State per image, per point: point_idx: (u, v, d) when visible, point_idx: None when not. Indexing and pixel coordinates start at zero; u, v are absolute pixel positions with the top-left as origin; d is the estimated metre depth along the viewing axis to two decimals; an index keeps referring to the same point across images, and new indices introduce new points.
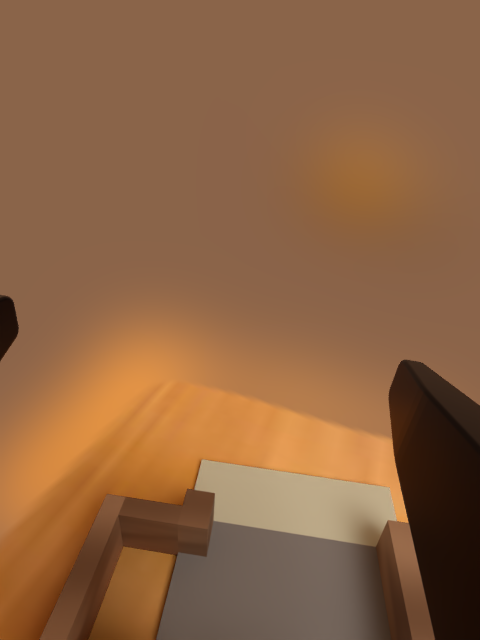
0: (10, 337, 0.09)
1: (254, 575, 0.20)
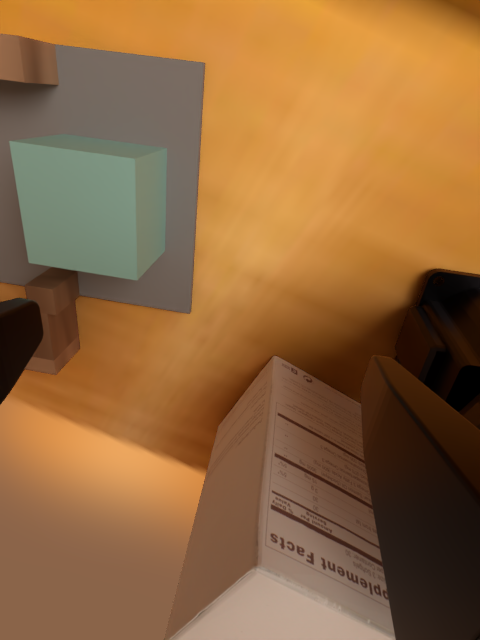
0: (36, 341, 0.09)
1: None
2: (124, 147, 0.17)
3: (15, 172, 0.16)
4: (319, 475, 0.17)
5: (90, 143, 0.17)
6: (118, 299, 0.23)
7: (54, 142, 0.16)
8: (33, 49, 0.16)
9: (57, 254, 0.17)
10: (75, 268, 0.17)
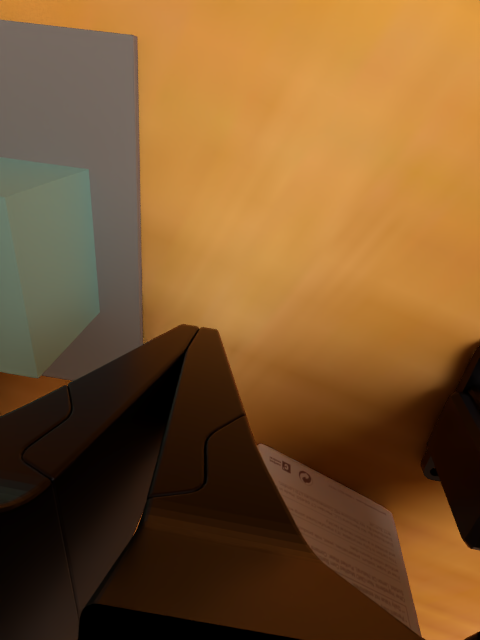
0: None
1: None
2: (13, 171, 0.11)
3: None
4: None
5: None
6: None
7: None
8: None
9: None
10: None
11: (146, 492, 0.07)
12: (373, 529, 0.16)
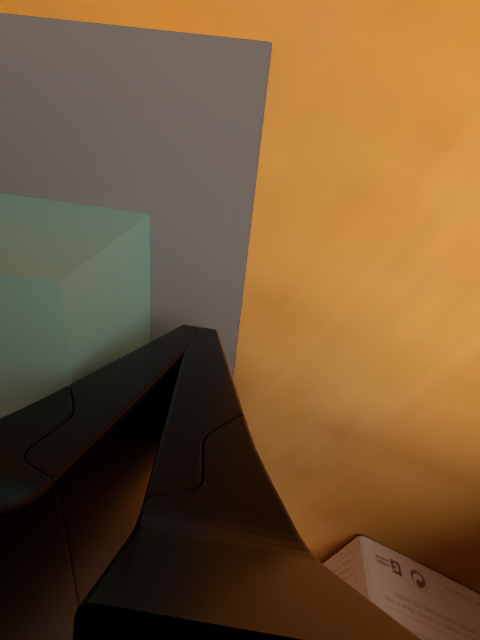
0: None
1: None
2: (56, 223, 0.08)
3: None
4: None
5: None
6: None
7: None
8: None
9: None
10: None
11: None
12: None
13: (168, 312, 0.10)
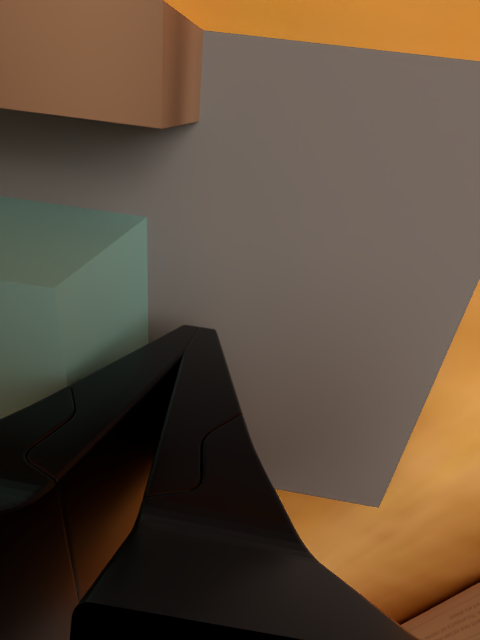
0: None
1: None
2: (52, 227, 0.08)
3: None
4: None
5: None
6: None
7: None
8: (179, 41, 0.06)
9: None
10: None
11: None
12: None
13: (369, 344, 0.10)
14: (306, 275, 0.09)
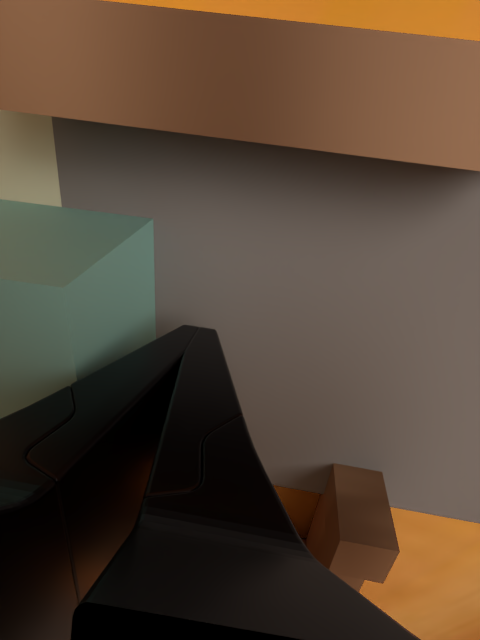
0: None
1: None
2: (61, 229, 0.08)
3: None
4: None
5: None
6: (443, 513, 0.13)
7: None
8: None
9: None
10: None
11: None
12: None
13: None
14: None
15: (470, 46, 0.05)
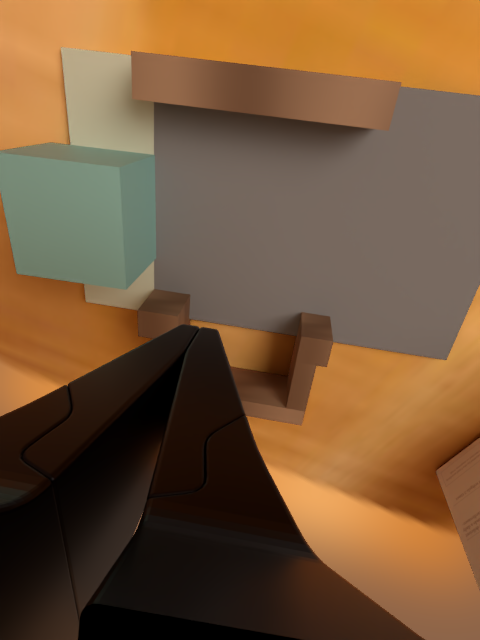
0: None
1: (202, 250, 0.20)
2: (110, 155, 0.17)
3: (0, 183, 0.16)
4: None
5: (76, 151, 0.17)
6: (367, 345, 0.21)
7: (39, 152, 0.16)
8: None
9: (45, 265, 0.17)
10: (63, 278, 0.17)
11: (146, 492, 0.07)
12: None
13: (451, 248, 0.18)
14: (420, 208, 0.18)
15: (335, 76, 0.14)
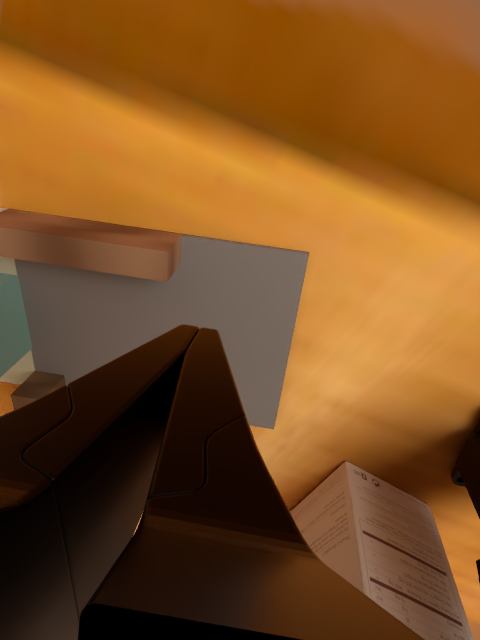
0: None
1: (67, 343, 0.25)
2: None
3: None
4: (405, 592, 0.20)
5: None
6: None
7: None
8: (172, 252, 0.19)
9: None
10: None
11: (146, 492, 0.07)
12: (420, 516, 0.26)
13: (256, 348, 0.23)
14: (226, 319, 0.22)
15: (120, 245, 0.18)
